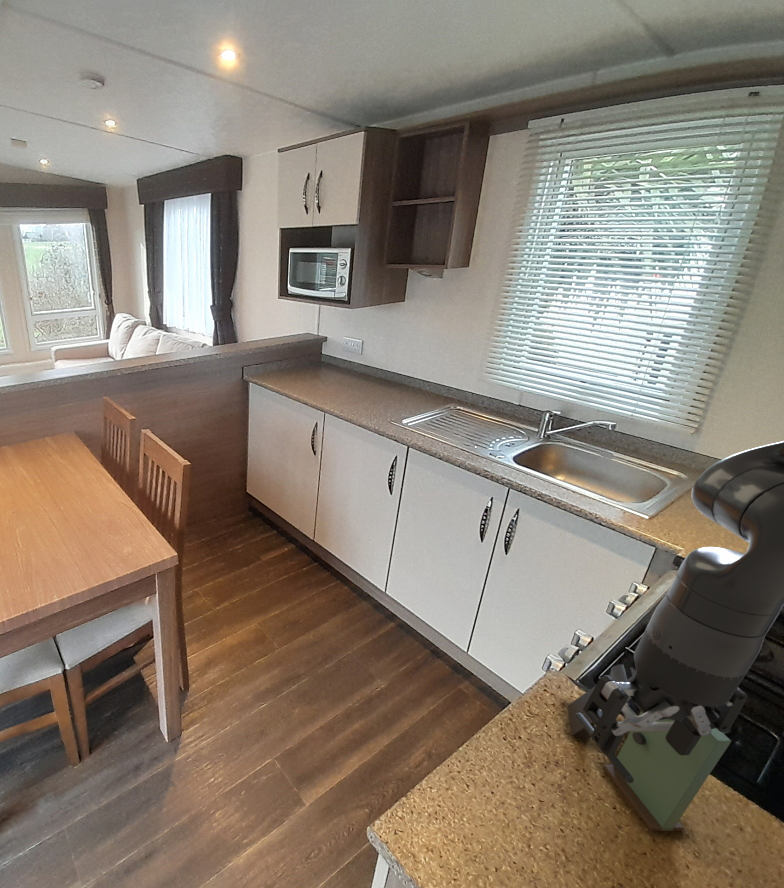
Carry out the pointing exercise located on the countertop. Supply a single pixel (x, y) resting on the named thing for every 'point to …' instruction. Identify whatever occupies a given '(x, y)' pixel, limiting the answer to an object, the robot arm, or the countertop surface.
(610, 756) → the hanger
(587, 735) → the phone stand
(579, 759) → the countertop surface
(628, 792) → the door panel
